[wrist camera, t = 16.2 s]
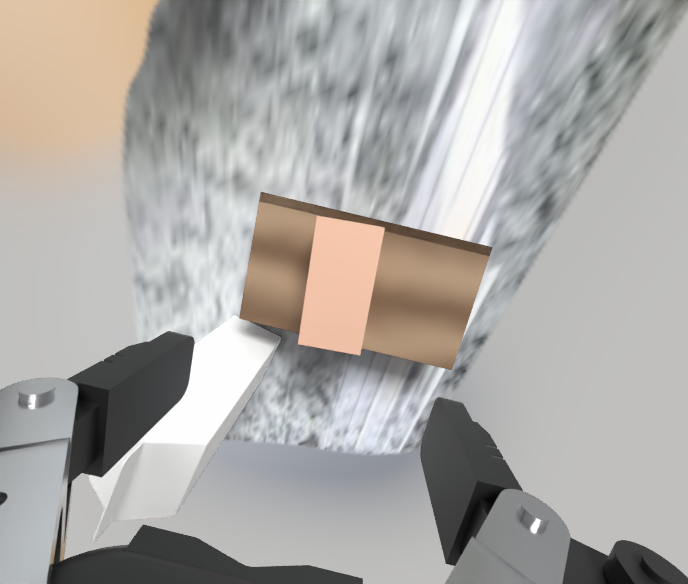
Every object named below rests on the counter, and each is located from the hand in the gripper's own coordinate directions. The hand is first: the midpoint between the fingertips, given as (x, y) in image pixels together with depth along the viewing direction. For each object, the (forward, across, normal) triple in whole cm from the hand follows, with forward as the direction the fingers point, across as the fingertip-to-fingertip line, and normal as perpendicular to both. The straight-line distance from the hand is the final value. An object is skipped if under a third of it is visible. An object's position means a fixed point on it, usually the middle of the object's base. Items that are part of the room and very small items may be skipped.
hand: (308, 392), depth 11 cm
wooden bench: (+26, -2, 0) cm, 26 cm away
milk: (+26, +9, +11) cm, 30 cm away
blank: (+20, 0, 0) cm, 20 cm away
